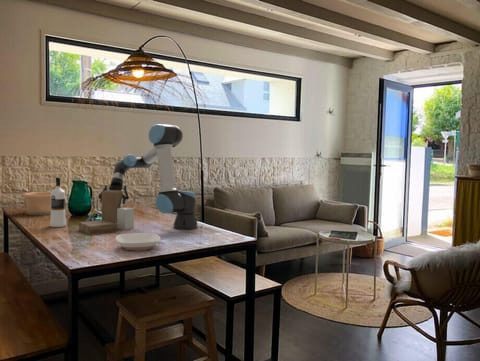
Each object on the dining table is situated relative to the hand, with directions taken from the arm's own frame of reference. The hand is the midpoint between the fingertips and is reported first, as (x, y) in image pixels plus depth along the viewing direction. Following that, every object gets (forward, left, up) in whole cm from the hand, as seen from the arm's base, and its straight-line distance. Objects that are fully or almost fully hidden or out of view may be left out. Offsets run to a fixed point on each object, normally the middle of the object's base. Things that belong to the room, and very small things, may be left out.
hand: (111, 207), depth 261 cm
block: (+2, -2, -10) cm, 10 cm away
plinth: (-11, +13, -12) cm, 21 cm away
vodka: (+15, +27, -12) cm, 33 cm away
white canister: (-12, -4, -12) cm, 17 cm away
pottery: (+69, +21, -12) cm, 73 cm away
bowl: (-61, +14, -12) cm, 64 cm away
